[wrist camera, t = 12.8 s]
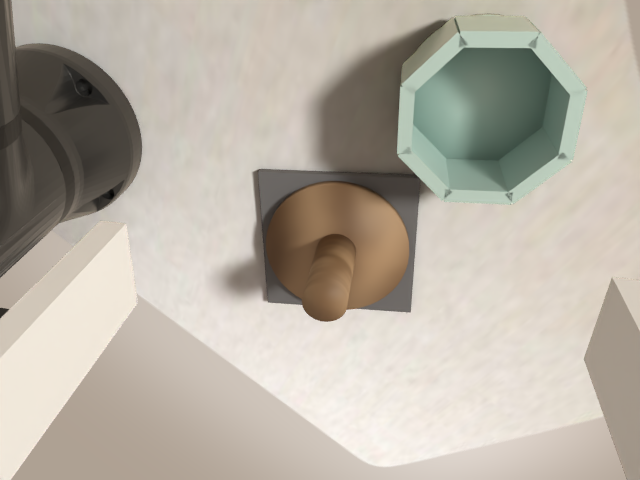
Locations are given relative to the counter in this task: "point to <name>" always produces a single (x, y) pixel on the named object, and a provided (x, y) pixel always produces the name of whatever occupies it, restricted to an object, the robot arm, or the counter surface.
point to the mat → (390, 186)
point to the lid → (337, 247)
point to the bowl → (487, 110)
